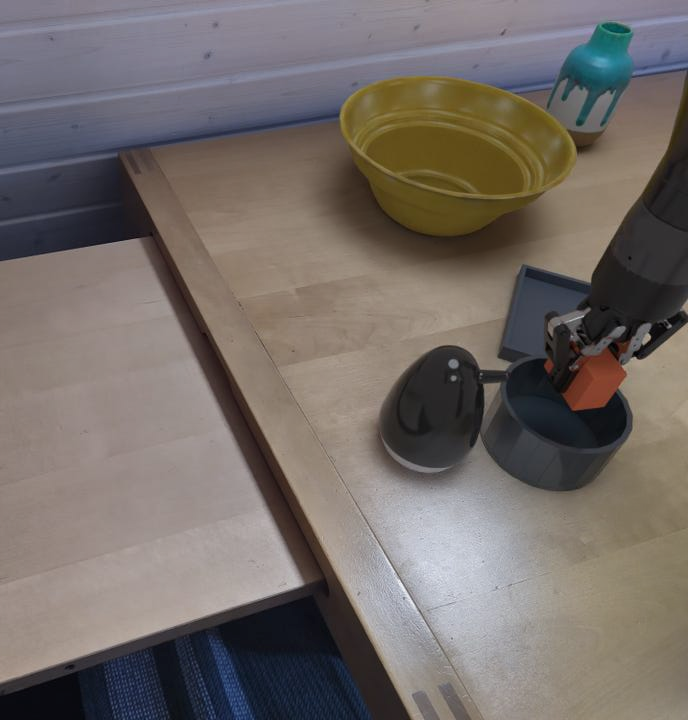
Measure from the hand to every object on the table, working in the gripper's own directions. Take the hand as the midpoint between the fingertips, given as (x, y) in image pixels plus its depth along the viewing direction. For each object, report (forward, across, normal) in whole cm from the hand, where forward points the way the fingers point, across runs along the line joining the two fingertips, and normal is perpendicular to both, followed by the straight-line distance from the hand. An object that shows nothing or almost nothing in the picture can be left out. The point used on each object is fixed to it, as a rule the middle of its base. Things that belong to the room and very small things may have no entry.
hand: (575, 383), depth 72 cm
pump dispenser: (+10, -14, +1) cm, 17 cm away
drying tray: (+10, +11, +16) cm, 22 cm away
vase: (+10, +35, +59) cm, 69 cm away
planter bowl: (+10, +4, +43) cm, 44 cm away
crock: (+10, 0, 0) cm, 10 cm away
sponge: (0, 0, 0) cm, 0 cm away
